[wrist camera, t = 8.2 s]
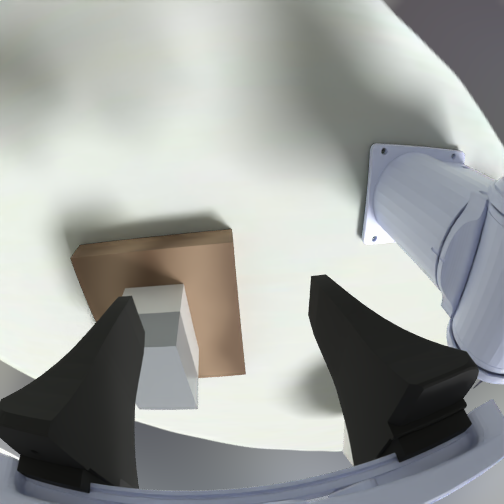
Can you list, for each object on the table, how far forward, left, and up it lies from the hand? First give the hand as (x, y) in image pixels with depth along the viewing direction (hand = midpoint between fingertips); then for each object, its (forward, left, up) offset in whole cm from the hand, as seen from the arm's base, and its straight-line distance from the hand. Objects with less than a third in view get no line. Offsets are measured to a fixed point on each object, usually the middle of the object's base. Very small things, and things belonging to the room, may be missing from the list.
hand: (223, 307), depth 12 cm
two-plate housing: (+5, +8, -8) cm, 13 cm away
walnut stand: (+5, +9, -10) cm, 15 cm away
